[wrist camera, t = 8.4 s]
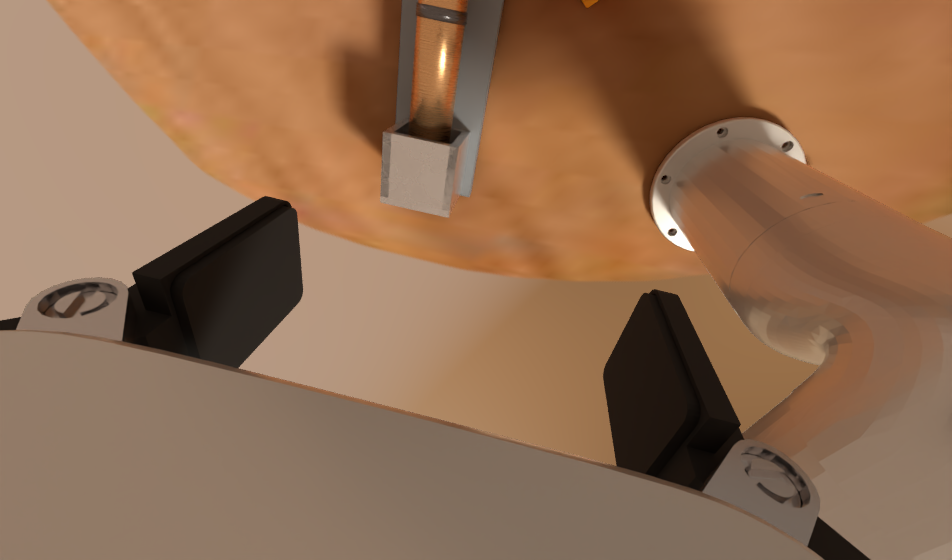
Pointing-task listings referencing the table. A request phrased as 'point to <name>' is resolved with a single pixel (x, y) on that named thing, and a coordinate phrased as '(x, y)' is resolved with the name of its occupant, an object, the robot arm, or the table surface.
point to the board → (472, 72)
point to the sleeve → (422, 170)
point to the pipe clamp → (589, 2)
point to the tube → (436, 67)
